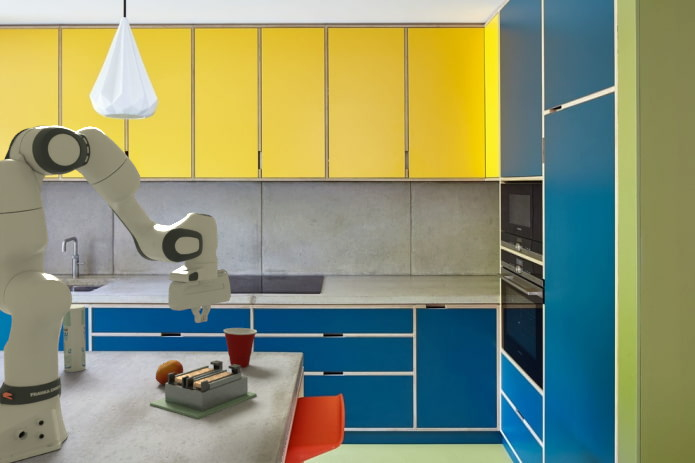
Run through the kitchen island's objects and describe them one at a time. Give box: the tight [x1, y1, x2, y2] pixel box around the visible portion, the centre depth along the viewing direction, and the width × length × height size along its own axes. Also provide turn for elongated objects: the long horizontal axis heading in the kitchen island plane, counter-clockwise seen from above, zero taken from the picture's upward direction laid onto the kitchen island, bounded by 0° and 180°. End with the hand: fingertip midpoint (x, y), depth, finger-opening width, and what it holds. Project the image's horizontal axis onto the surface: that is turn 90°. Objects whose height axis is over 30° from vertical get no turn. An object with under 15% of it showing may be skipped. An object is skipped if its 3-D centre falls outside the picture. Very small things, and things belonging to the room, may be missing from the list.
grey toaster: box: [164, 359, 249, 412], centre depth 176 cm, size 17×14×8 cm
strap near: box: [193, 371, 233, 388], centre depth 173 cm, size 12×3×1 cm, turn 147°
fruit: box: [155, 359, 184, 387], centre depth 190 cm, size 8×8×8 cm
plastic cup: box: [222, 327, 258, 369], centre depth 210 cm, size 11×11×12 cm
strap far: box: [175, 367, 215, 383], centre depth 177 cm, size 12×3×1 cm, turn 147°
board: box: [149, 391, 257, 420], centre depth 176 cm, size 22×18×1 cm
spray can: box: [62, 304, 87, 373], centre depth 204 cm, size 6×6×20 cm
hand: (201, 321), depth 178 cm, fingers closed
